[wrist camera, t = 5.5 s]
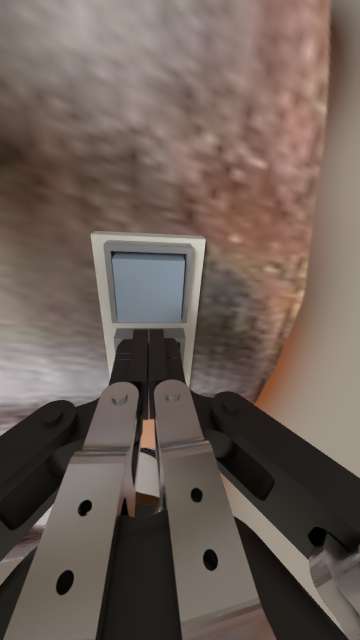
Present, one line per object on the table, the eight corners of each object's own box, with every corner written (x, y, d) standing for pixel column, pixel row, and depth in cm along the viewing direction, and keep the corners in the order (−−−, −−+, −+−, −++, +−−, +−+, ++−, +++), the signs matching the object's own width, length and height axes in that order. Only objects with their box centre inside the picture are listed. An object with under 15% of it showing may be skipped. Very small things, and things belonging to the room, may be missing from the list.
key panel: (95, 230, 20) (83, 238, 17) (201, 235, 21) (210, 243, 18) (118, 414, 33) (114, 440, 29) (183, 411, 34) (186, 435, 31)
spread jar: (165, 448, 39) (168, 536, 29) (147, 480, 44) (145, 565, 33) (95, 440, 36) (72, 537, 26) (85, 476, 40) (62, 569, 30)
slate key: (116, 251, 19) (112, 258, 16) (181, 254, 19) (185, 261, 17) (121, 310, 21) (117, 322, 19) (178, 310, 22) (180, 322, 20)
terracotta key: (127, 402, 27) (125, 420, 25) (173, 400, 27) (174, 417, 25) (130, 430, 29) (128, 448, 27) (171, 428, 30) (172, 445, 28)
